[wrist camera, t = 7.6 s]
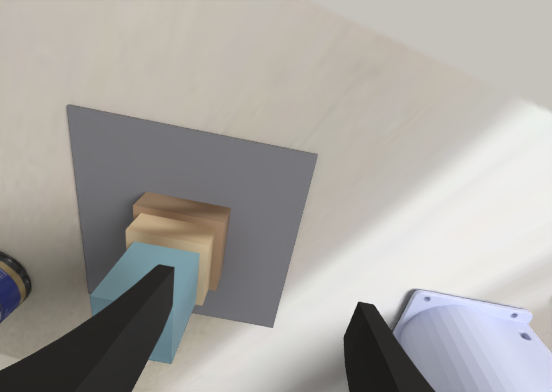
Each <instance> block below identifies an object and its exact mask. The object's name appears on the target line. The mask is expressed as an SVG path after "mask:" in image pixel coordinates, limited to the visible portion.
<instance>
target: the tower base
mask: <svg viewBox="0 0 552 392" xmlns="http://www.w3.org/2000/svg"><path fill="white" fill-rule="evenodd" d="M230 212H231V208H229V207H223V206H218V205H213V204H208V203H203V202H198V201H192V200H187V199H182V198H177V197H172V196H167V195H162V194H156V193H151V192H146V193H145V194H144V195H143V196H142V197H141V198H140V199H139V200H138V201H137V202H136V203H135V204H134V205H133V221H134V220H135V219H136V218H137V217H138V216H139V215H140V213H143V214H148V215H153V216H158V217H163V218H169V219H174V220H179V221H184V222H189V223H195V224H200V225H205V226H210V227H215V228H217V229H216V238H215V246H214V255H213V263H212V271H211V280H210V286H209V289H208V290H212V291H216V290H217V287H218V284H219V281H220V278H221V275H222V269H223V262H224V255H225V248H226V240H227V233H228V226H229V219H230Z"/></svg>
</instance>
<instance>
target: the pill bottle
mask: <svg viewBox="0 0 552 392" xmlns="http://www.w3.org/2000/svg"><path fill="white" fill-rule="evenodd" d="M30 289H31V283H30V279H29V277H28V276H27V274H26V272H25V270H24V269H23V267H22V266H21V265H20V264H19V263H18V262H17V261H15V260H14V259H13V258H12V257H10V256H7V255H5V254H4V253H2V252H0V323H1V322H2V321H3V320H4V319H5V318H6V317H7V316H8V315H9V314H10V313H12V312H13V311H14V310H15V309H16V308H17V307H18V306H19V305H20V304H21V303H22V302H23V301H24V300H25V299H26V298H27V297H28V295H29V293H30Z"/></svg>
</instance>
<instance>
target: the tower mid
mask: <svg viewBox="0 0 552 392" xmlns="http://www.w3.org/2000/svg"><path fill="white" fill-rule="evenodd" d="M216 229H217V228H215V227H210V226H205V225H200V224H195V223H189V222H184V221H179V220H174V219H169V218H163V217H158V216H153V215H148V214H143V213H140V215H139V216H138V217H137V218H136V219H135V220H134V221H133V222H132V223H131V224H130V226H129V227H128V228H127V229H126V251H127V250H128V249H129V247H130V246H131V245H132V244H133V242H134V241H135V242H140V243H146V244H151V245H157V246H162V247H168V248H173V249H179V250H185V251H190V252H196V253H200V257H199V270H198V283H197V295H196V303H195V305H201V306H202V305H203V303H204V300H205V297H206V294H207V292H208V289H209V286H210V280H211V271H212V263H213V255H214V246H215V238H216Z"/></svg>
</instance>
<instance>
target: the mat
mask: <svg viewBox="0 0 552 392" xmlns="http://www.w3.org/2000/svg"><path fill="white" fill-rule="evenodd" d="M67 113H68V121H69V130H70V138H71V147H72V155H73V164H74V172H75V181H76V189H77V198H78V206H79V215H80V223H81V232H82V240H83V249H84V257H85V266H86V274H87V283H88V291H89V294H92V293H93V291H94V290H95V289H96V288H97V287H98V285H99V284H100V283H101V282H102V280H103V279H104V278H105V277H106V276H107V274H108V273H109V272H110V271H111V269H112V268H113V267H114V266H115V264H116V263H117V262H118V261H119V260H120V258H121V257H122V256H123V255H124V253H125V252H126V229H127V228H128V227H129V226H130V224H131V223H132V222H133V205H134V204H135V203H136V202H137V201H138V200H139V199H140V198H141V197H142V196H143V195H144V194H145V193H146V192H151V193H156V194H162V195H167V196H172V197H177V198H182V199H187V200H192V201H198V202H203V203H208V204H213V205H218V206H223V207H229V208H231V212H230V219H229V226H228V233H227V240H226V248H225V255H224V262H223V269H222V275H221V278H220V281H219V284H218V287H217V290H216V291H212V290H208V292H207V294H206V297H205V300H204V303H203V305H202V306H201V305H194V308H193V310H192V313H195V314H201V315H206V316H212V317H217V318H222V319H228V320H233V321H239V322H244V323H249V324H255V325H260V326H266V327H271V328H273V325H274V321H275V317H276V313H277V310H278V306H279V302H280V298H281V294H282V290H283V287H284V283H285V279H286V275H287V271H288V268H289V264H290V260H291V256H292V252H293V248H294V245H295V241H296V237H297V233H298V229H299V225H300V222H301V218H302V214H303V210H304V206H305V202H306V199H307V195H308V191H309V187H310V183H311V179H312V176H313V172H314V168H315V164H316V160H317V156H318V155H317V154H314V153H309V152H304V151H299V150H294V149H289V148H284V147H279V146H274V145H269V144H264V143H259V142H254V141H249V140H244V139H239V138H234V137H229V136H224V135H219V134H214V133H209V132H204V131H199V130H194V129H189V128H184V127H179V126H174V125H169V124H164V123H159V122H155V121H150V120H145V119H140V118H135V117H130V116H125V115H120V114H115V113H110V112H105V111H100V110H95V109H90V108H85V107H80V106H75V105H67Z"/></svg>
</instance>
